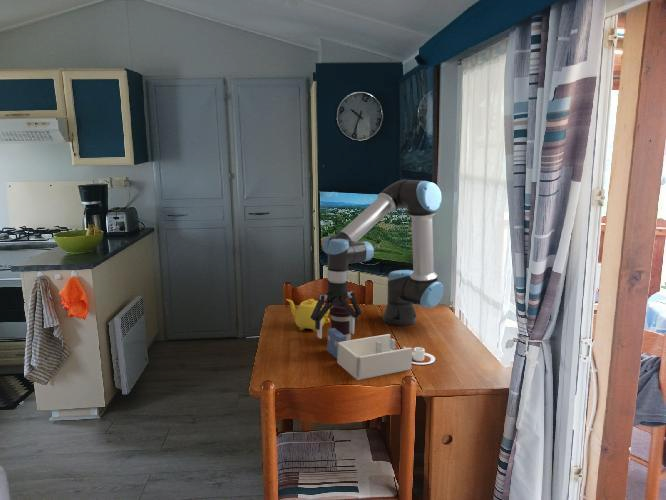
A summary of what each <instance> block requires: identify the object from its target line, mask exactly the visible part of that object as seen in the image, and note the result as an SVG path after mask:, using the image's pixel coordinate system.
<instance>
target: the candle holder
mask: <svg viewBox="0 0 666 500" xmlns="http://www.w3.org/2000/svg"><path fill="white" fill-rule="evenodd" d="M425 357H428V358H429V359H430V360H429V361H428V362H423V361H424V360H425ZM412 360H413V361H412V364H413V365H421V366H422V365H423V366H424V365H430V364H432V363H434V362H435V361H436V357H435V356H434V355H432V354H430V353H427V352H426V351H425V348H423V347H419V346H417V347H413V349H412ZM414 361H415V362H414Z"/></svg>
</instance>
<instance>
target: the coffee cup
mask: <svg viewBox="0 0 666 500" xmlns="http://www.w3.org/2000/svg"><path fill="white" fill-rule="evenodd" d="M351 308H352V307H351ZM352 309H353V310H354V311H355V309H354V307H353V308H352ZM329 310H330V311H329V315H330V329H331V328H335V329H337V330H338V331H339V332H341V333H342V334H343V335H345V336H346V341H349V340H351V336H352V335H351V334H352V333H350V332H349V327H350V316H352V314H351V313H350V312H349V311H348V309H347V308H346V307H345V306H344V305H343V304H342V305H337V306H334V305H333V306H332V307H331V308H330V309H329Z"/></svg>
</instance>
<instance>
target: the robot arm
mask: <svg viewBox="0 0 666 500" xmlns="http://www.w3.org/2000/svg"><path fill="white" fill-rule="evenodd" d="M442 201H443V200H442V192H441V189H440V188H439V186H438V185H437V184H436V183H434V182H431V181H427V180H417V179H400V180H398V181H395V182H393V183H392V184H390V185H389V186H387V187H386V188H384V189H383V190H382V191H380V193H378V194H377V198H376V199H375V200H374V201H373V202H371V204H369V205H368V207H366V208H365V209H364V210H363V211H362V212H361V213H360V214H358V215H357V216H356V217H355V218H354V219H352V220H351V222H349V223H348V224H347V225H346V226H344V227H343V228H342V230H340V231H339V232H338V233H337V234H335V235H329V236H326V237H325V238H324V239H323V241H322V245H321V246H322V251H323V252H324V253H325V254H327V277H326V278H327V283H326V292H327V293H326V294H321V293H320V294H319V295H318V300H317V301H318V302H317V304H316V306H315V308H314V311H313V313H312V315H311V317H310V318H311V319H312V320H314V321H315V328H316V329H317V332H316V337H317V338H319V339H322V338H323V326H322V321H321V319H322V318H323V316H324V315H325V314H327V311H328V310H330V308H332V307H333V306H337V305H342V304H343V305H344V306H345V307H346V308H347V309H348V311H349V312H350V313H351V314H352V316H350V327H349V332H350V333H351V334H352V335H354V334H355V328H356V327H355V325H356V326H357V323H358V322H357V318H359V316H361V315H362V314H363V313H362V310H361V308H360V306H359V304H358V302H357V299H356V294H355V292H354V291H352V290H349V291H348V280H349V279H348V275H349V272H348V271H349V270H348V269H349V264H351V265H352V264H356V263H365V262H368V261H371V260H372V258H373V257H374V254H375V253H374V251H375V250H374V246H373V245H372V243H370V242H369V241H363V240H361V241H359V240H360V239H362V237H363V236H365V235H366V234H367V233H369V231H370V230H371V229H373V228H374V227H375V226H376V225H377V224H378V223H379V222H380V221H381V220H382V219H384V218H385V217H386V216H387V215H388V214H389V213H393V212H395V211H396V210H397V209H399V208H406V209H407V210H406V211H407V216H409V217H410V219H411V239H412V241H411V242H412V266H413V267H412V270H411V269H400V270H393V271H390V272H389V273H388V279H387V299H386V300H387V304H386V306H385V309H384V311H383V315H382V321H384V323H387V324H390V325H395V326H410V325H413V324H416V323H417V314H416V310H415V306H414V304H416V305H418V306H421V307H424V308H434V307H436V306H437V305H438V304H439V303H440V301H441V300H442V298H443V296H444V291H445V290H444V285H443V284H442V283H441V281H438V274H437V273H436V272H435V270H434V268H435V267H434V266H435V265H434V236H433V232H434V231H433V227H434V226H433V217H434V216H435V215H436V214H437V210H438V209H439V208H440V206H441V204H442ZM347 298H349V300H350V302H351V305H352V306H351V305H350V304H349V302H348V301H347ZM324 302H325V303H324ZM322 305H324V306H323V308H322ZM352 307H353V309H354V310H353V309H352ZM321 308H322V309H321Z"/></svg>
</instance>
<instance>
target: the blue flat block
mask: <svg viewBox="0 0 666 500" xmlns="http://www.w3.org/2000/svg"><path fill="white" fill-rule="evenodd" d="M326 336H327V338H326V339H327V340H326V341H327V343H326V345H327V348H326V349H327V351H326V352H328V353H329V354H331V356H333V357H334V358H335V359H336V360H337V343H338V342H343V341H346V336H345V335H343V334H342V333H341V332H339V331H338V330H337V329H335V328H331V327H330V328H327V335H326Z"/></svg>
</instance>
